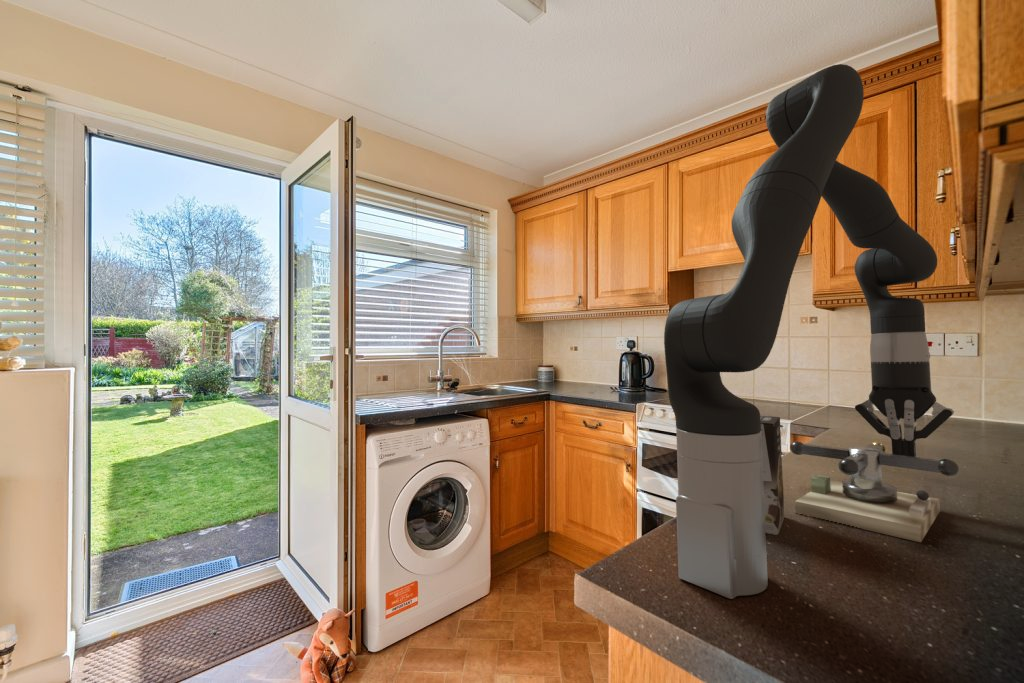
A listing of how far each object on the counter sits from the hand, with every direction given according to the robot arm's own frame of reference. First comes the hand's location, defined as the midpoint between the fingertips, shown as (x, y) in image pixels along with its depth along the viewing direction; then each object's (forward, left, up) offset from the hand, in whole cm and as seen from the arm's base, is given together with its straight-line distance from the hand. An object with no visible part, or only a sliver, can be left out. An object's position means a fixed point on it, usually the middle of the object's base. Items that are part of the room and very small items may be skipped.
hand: (904, 461), depth 73 cm
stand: (-8, +4, -8) cm, 12 cm away
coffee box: (-25, +14, -8) cm, 30 cm away
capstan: (-8, +4, -5) cm, 11 cm away
